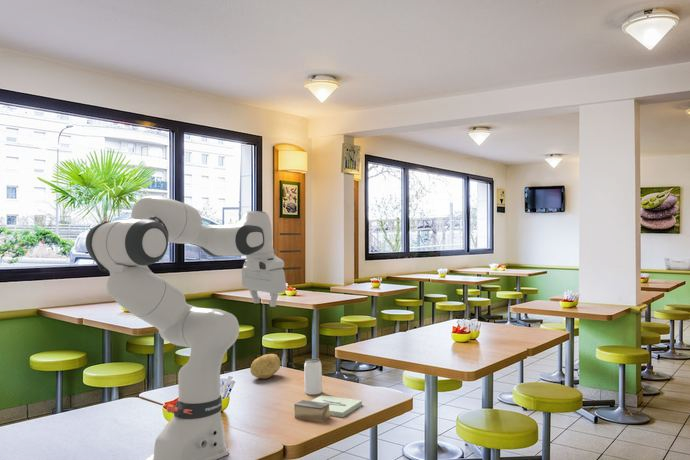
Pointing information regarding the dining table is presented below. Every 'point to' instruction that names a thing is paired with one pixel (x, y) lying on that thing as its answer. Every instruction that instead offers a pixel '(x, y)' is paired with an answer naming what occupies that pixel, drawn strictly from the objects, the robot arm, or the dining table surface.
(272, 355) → the potato
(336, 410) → the board
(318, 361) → the can
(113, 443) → the dining table surface
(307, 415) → the block
